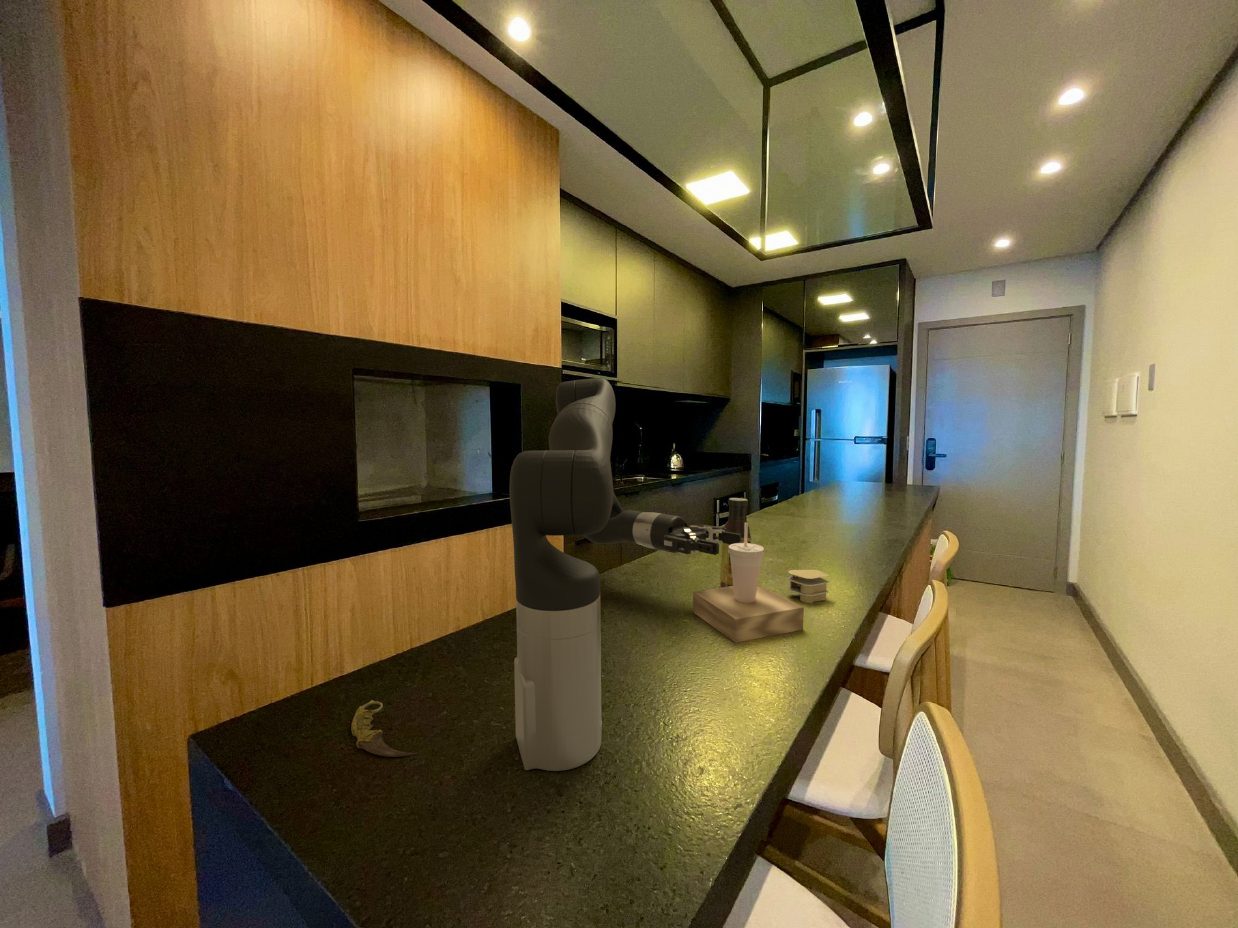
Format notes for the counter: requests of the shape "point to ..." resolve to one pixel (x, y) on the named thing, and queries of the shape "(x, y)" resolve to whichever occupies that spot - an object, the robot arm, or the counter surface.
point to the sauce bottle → (734, 526)
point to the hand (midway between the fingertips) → (729, 544)
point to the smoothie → (745, 568)
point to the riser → (748, 613)
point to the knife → (372, 733)
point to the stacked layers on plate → (808, 585)
